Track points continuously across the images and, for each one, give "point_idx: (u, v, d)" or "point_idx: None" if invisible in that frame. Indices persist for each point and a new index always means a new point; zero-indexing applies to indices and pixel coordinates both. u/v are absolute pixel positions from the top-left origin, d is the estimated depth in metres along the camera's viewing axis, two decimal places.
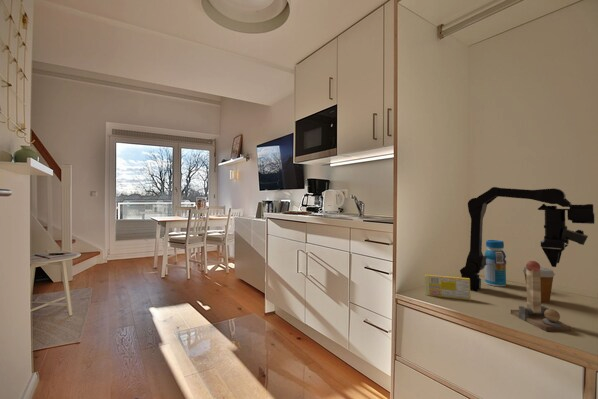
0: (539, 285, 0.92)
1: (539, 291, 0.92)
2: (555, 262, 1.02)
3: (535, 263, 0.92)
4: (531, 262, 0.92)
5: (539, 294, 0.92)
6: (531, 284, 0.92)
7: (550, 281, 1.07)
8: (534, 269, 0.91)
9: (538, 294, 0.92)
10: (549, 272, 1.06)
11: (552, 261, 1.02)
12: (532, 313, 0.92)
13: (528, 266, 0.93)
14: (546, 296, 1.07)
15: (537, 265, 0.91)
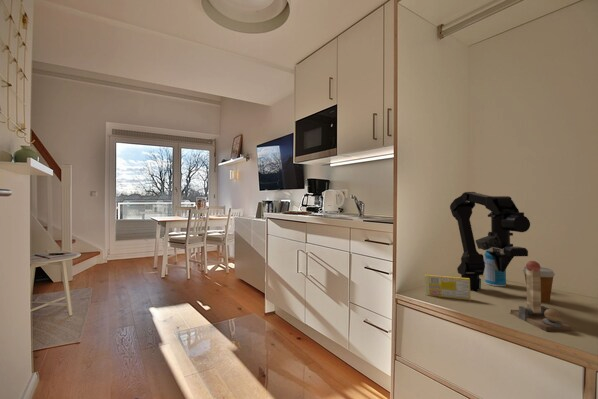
0: (539, 285, 0.92)
1: (539, 291, 0.92)
2: None
3: (535, 263, 0.92)
4: (531, 262, 0.92)
5: (539, 294, 0.92)
6: (531, 284, 0.92)
7: (550, 281, 1.07)
8: (534, 269, 0.91)
9: (538, 294, 0.92)
10: (549, 272, 1.06)
11: None
12: (532, 313, 0.92)
13: (528, 266, 0.93)
14: (546, 296, 1.07)
15: (537, 265, 0.91)
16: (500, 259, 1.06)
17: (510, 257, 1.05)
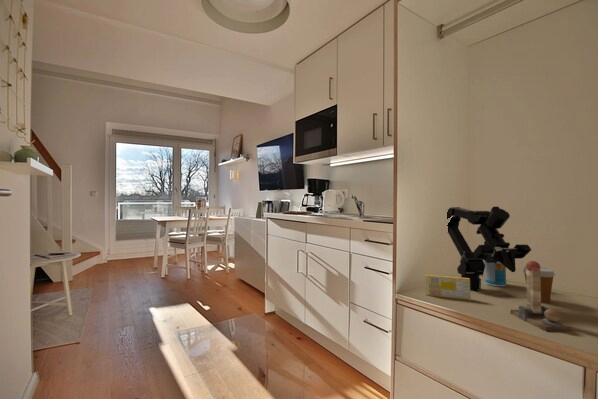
0: (539, 285, 0.92)
1: (539, 291, 0.92)
2: None
3: (535, 263, 0.92)
4: (531, 262, 0.92)
5: (539, 294, 0.92)
6: (531, 284, 0.92)
7: (550, 281, 1.07)
8: (534, 269, 0.91)
9: (538, 294, 0.92)
10: (549, 272, 1.06)
11: None
12: (532, 313, 0.92)
13: (528, 266, 0.93)
14: (546, 296, 1.07)
15: (537, 265, 0.91)
16: None
17: (502, 255, 1.04)
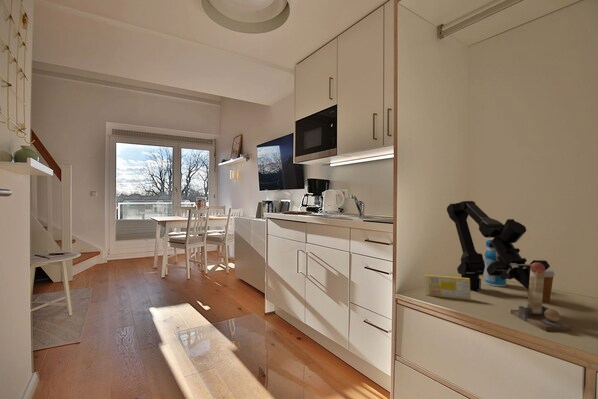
0: (542, 287, 0.91)
1: (541, 292, 0.91)
2: None
3: (540, 265, 0.90)
4: (536, 264, 0.91)
5: (541, 295, 0.91)
6: (533, 286, 0.91)
7: (550, 281, 1.07)
8: (538, 271, 0.90)
9: (540, 295, 0.91)
10: (549, 272, 1.06)
11: None
12: (532, 313, 0.92)
13: (533, 268, 0.91)
14: (546, 296, 1.07)
15: (542, 267, 0.90)
16: None
17: (518, 272, 0.96)
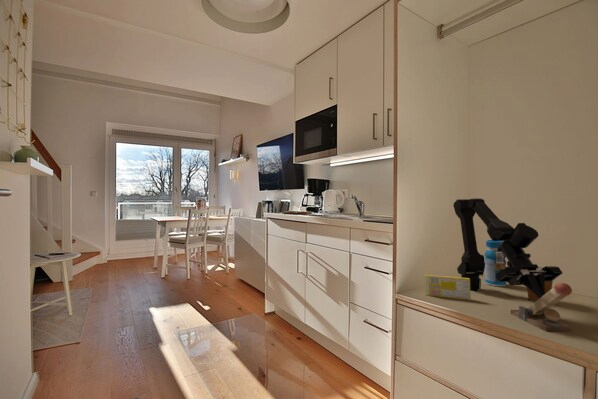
0: (556, 302, 0.86)
1: (552, 305, 0.87)
2: None
3: (568, 290, 0.81)
4: (564, 288, 0.81)
5: (550, 306, 0.88)
6: (547, 300, 0.86)
7: (550, 281, 1.07)
8: (562, 295, 0.82)
9: (549, 306, 0.88)
10: None
11: None
12: None
13: (558, 290, 0.82)
14: None
15: (568, 293, 0.81)
16: None
17: (529, 279, 0.92)
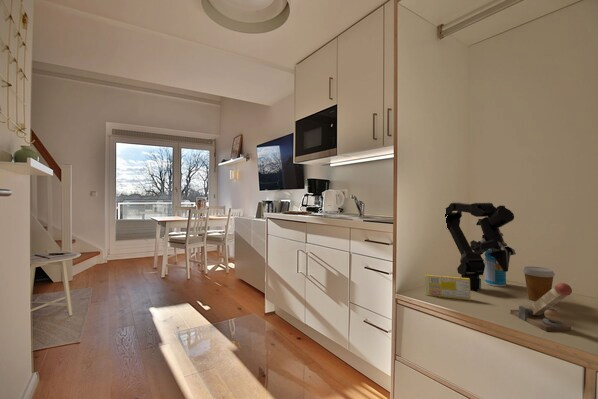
0: (556, 302, 0.86)
1: (552, 305, 0.87)
2: None
3: (568, 291, 0.81)
4: (564, 288, 0.81)
5: (550, 306, 0.88)
6: (547, 300, 0.86)
7: (550, 281, 1.07)
8: (562, 295, 0.82)
9: (549, 306, 0.88)
10: (549, 272, 1.06)
11: None
12: None
13: (558, 290, 0.82)
14: None
15: (568, 293, 0.81)
16: None
17: (503, 254, 1.06)
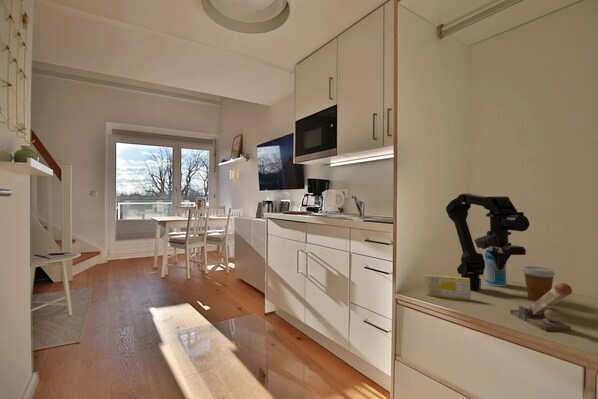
0: (556, 302, 0.86)
1: (552, 305, 0.87)
2: None
3: (568, 291, 0.81)
4: (564, 288, 0.81)
5: (550, 306, 0.88)
6: (547, 300, 0.86)
7: (550, 281, 1.07)
8: (562, 295, 0.82)
9: (549, 306, 0.88)
10: (549, 272, 1.06)
11: None
12: None
13: (558, 290, 0.82)
14: None
15: (568, 293, 0.81)
16: (498, 257, 1.09)
17: (507, 255, 1.08)
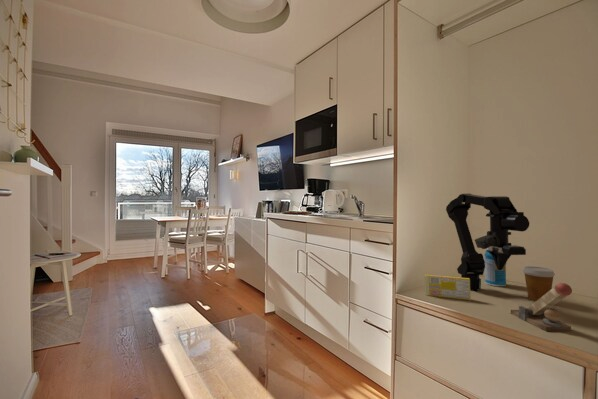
0: (556, 302, 0.86)
1: (552, 305, 0.87)
2: None
3: (568, 291, 0.81)
4: (564, 288, 0.81)
5: (550, 306, 0.88)
6: (547, 300, 0.86)
7: (550, 281, 1.07)
8: (562, 295, 0.82)
9: (549, 306, 0.88)
10: (549, 272, 1.06)
11: None
12: None
13: (558, 290, 0.82)
14: None
15: (568, 293, 0.81)
16: (498, 257, 1.09)
17: (507, 255, 1.08)
